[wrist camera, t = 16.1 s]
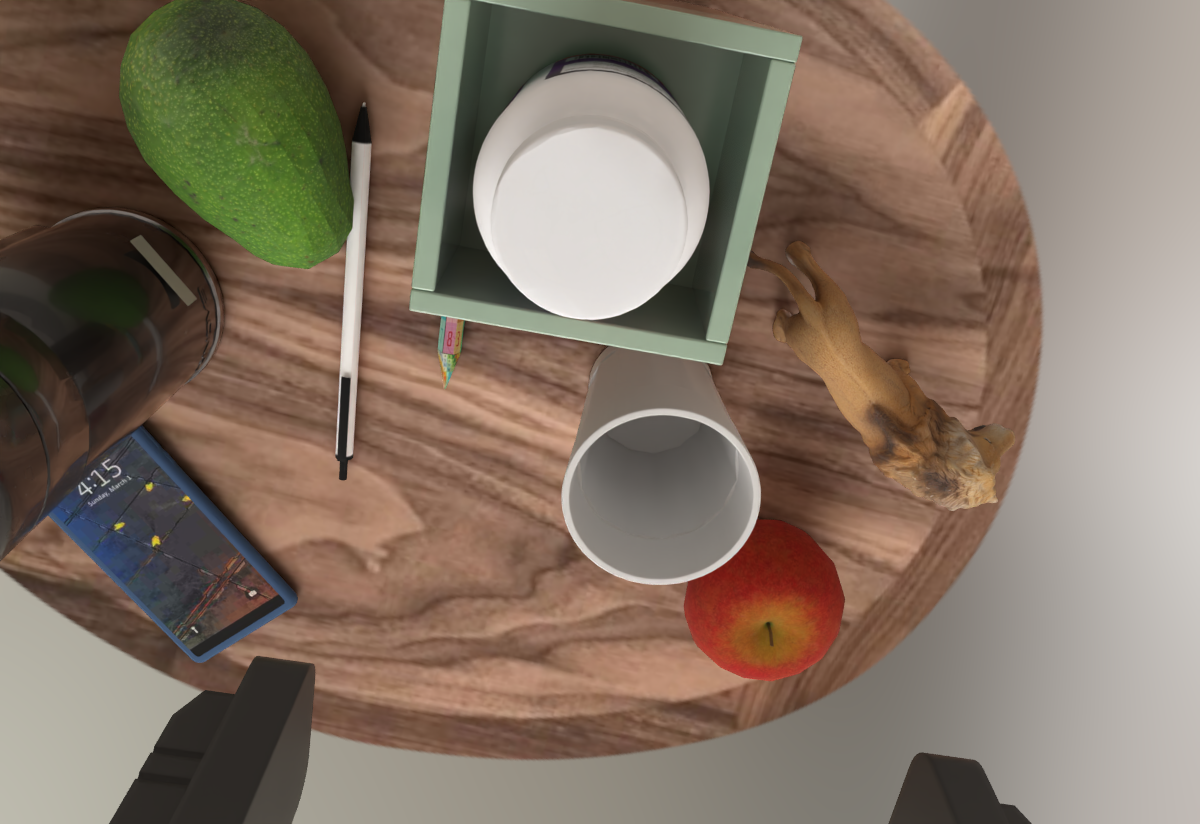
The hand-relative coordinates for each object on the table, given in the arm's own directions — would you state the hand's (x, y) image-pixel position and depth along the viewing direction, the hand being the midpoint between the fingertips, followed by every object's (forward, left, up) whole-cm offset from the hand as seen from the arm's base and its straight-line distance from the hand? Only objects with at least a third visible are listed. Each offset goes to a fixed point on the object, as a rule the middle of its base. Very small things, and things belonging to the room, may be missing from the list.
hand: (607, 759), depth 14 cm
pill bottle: (-1, +5, -20) cm, 20 cm away
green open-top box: (-1, +5, -38) cm, 38 cm away
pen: (-11, -7, -38) cm, 40 cm away
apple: (+11, -18, -38) cm, 44 cm away
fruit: (-19, +5, -32) cm, 38 cm away
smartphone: (-15, -28, -38) cm, 49 cm away
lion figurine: (+13, -5, -38) cm, 41 cm away
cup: (+4, -9, -38) cm, 40 cm away
